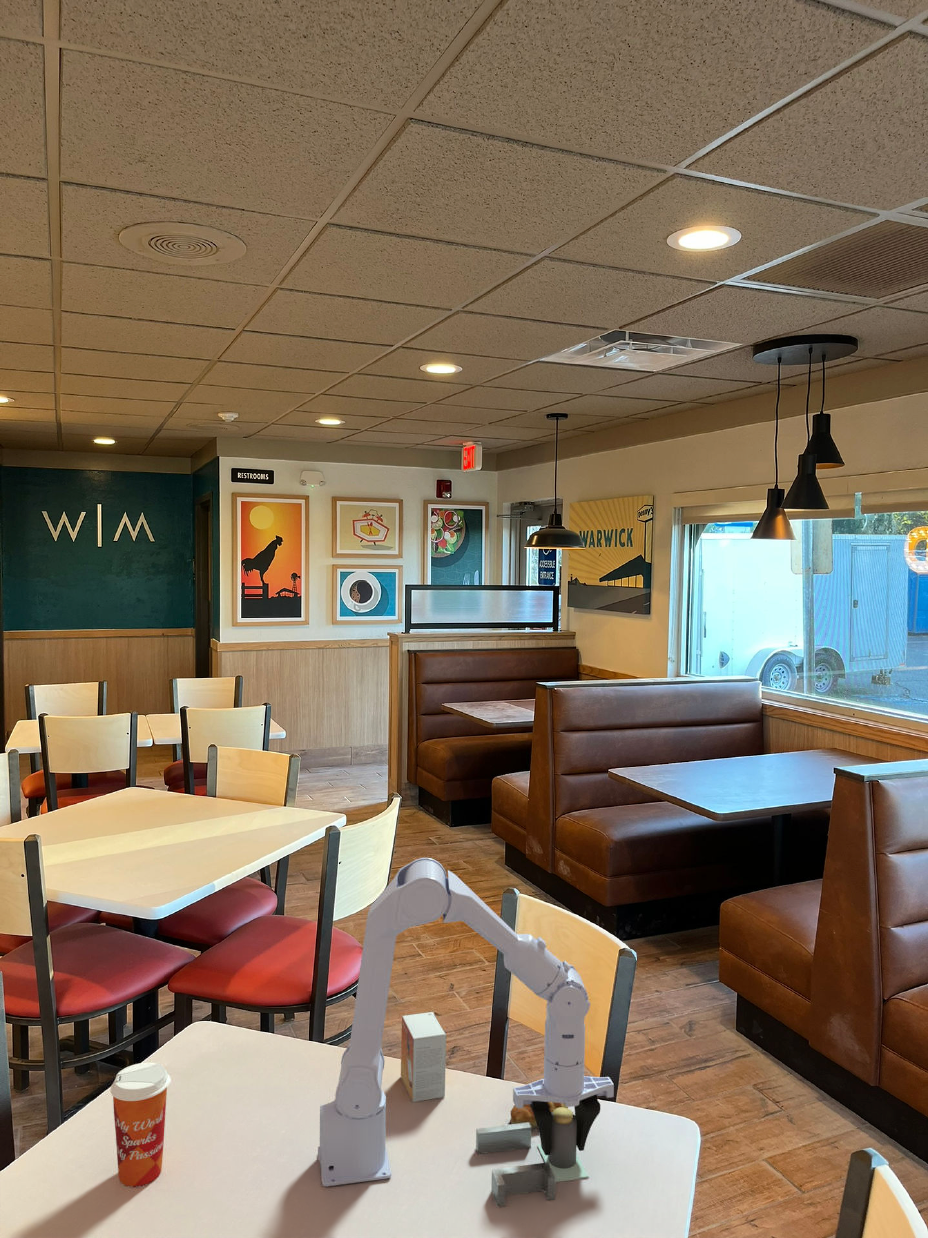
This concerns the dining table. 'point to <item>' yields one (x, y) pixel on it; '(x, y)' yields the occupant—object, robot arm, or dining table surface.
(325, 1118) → the robot arm
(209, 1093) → the dining table surface
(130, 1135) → the paper cup
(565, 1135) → the grey canister
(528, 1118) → the pastry
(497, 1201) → the metal brackets
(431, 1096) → the small box
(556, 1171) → the mat
